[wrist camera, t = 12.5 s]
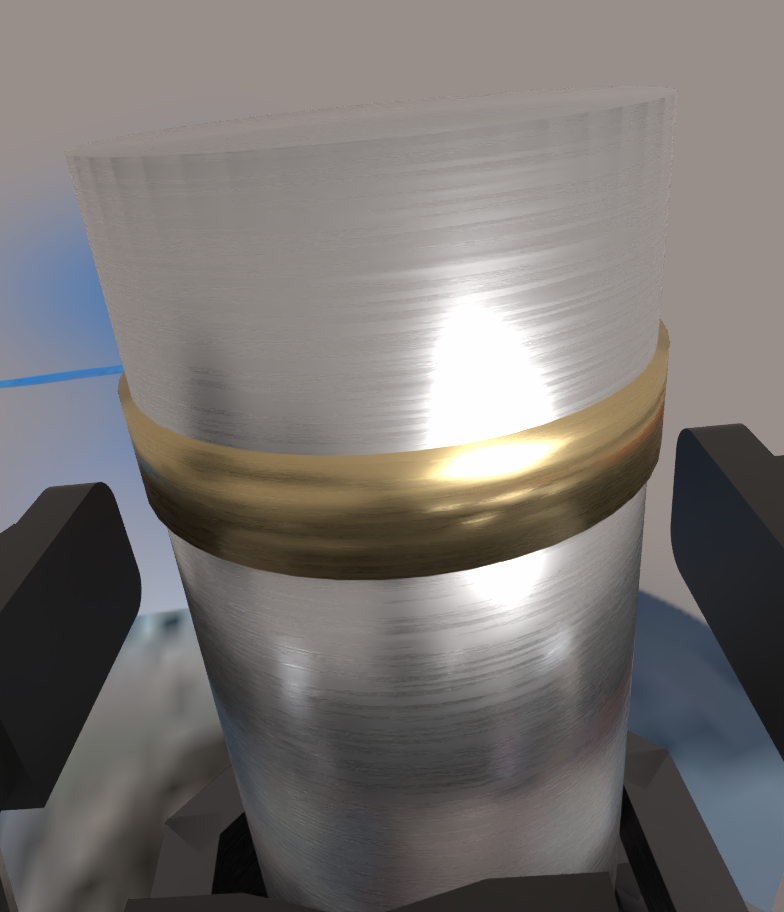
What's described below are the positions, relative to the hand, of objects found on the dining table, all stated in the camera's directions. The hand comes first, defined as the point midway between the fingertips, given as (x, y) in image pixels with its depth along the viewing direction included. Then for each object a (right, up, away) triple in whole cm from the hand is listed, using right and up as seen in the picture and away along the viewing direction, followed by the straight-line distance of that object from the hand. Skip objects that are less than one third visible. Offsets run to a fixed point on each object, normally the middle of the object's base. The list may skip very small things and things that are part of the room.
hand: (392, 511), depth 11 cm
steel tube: (+1, -10, +3) cm, 11 cm away
